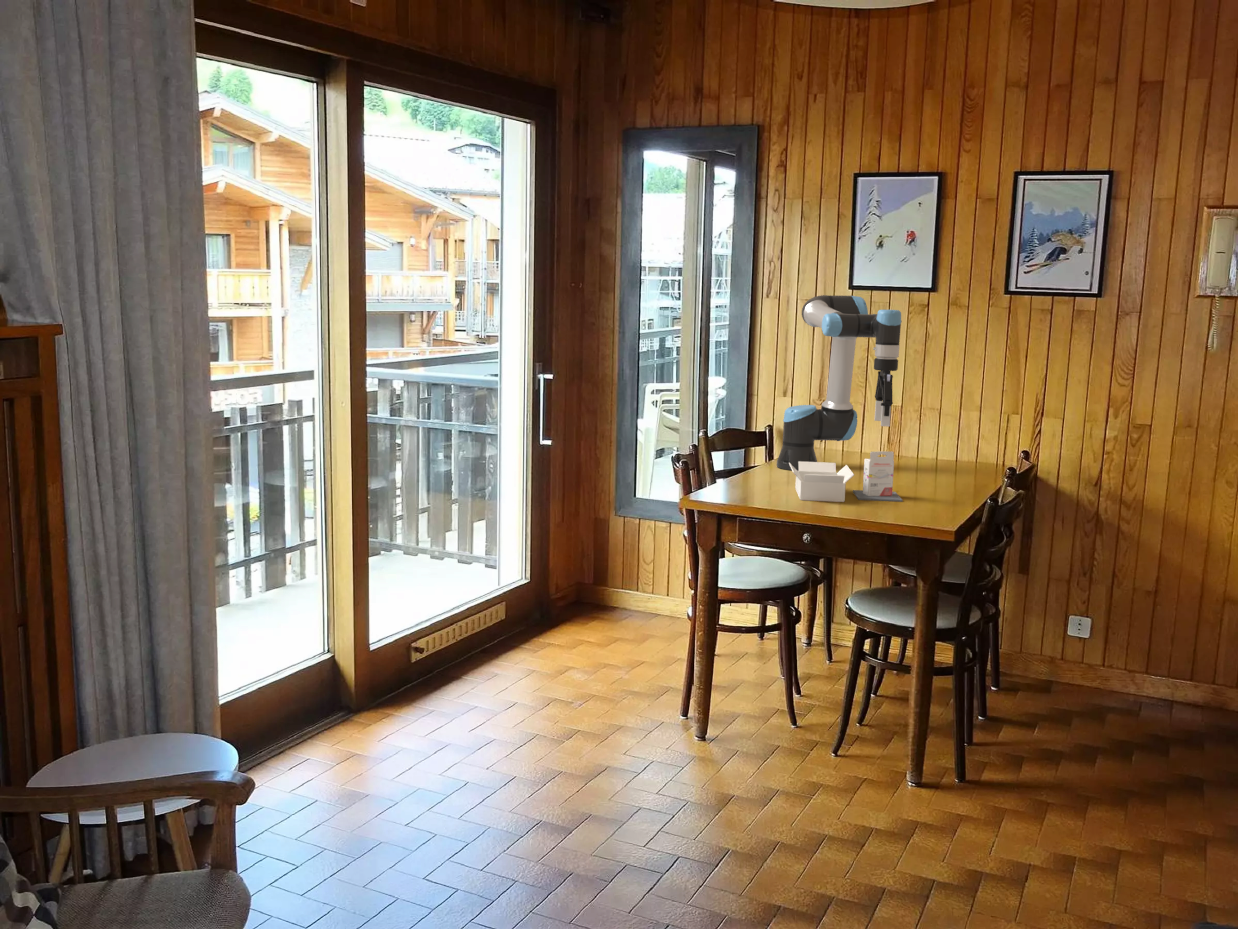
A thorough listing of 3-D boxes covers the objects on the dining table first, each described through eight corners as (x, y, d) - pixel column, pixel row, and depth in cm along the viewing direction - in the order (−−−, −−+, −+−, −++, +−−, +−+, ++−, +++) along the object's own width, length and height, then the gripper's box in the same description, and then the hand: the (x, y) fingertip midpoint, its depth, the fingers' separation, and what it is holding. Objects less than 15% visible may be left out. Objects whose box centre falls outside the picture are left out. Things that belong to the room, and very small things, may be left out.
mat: (852, 491, 374) (852, 490, 374) (895, 493, 373) (895, 491, 373) (858, 499, 361) (858, 498, 361) (902, 501, 360) (902, 499, 360)
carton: (786, 486, 380) (788, 460, 379) (844, 489, 379) (845, 463, 377) (792, 501, 355) (793, 473, 354) (854, 503, 354) (855, 476, 352)
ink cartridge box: (886, 493, 370) (889, 449, 368) (892, 496, 365) (895, 451, 363) (861, 493, 369) (864, 449, 366) (867, 496, 364) (870, 451, 362)
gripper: (869, 354, 372) (864, 418, 376) (880, 360, 348) (875, 428, 351) (891, 355, 372) (887, 418, 375) (905, 361, 347) (900, 429, 351)
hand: (881, 423), depth 363 cm, fingers open, 13 cm apart
